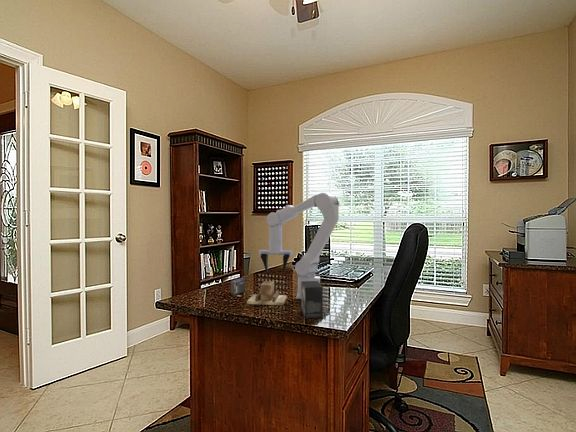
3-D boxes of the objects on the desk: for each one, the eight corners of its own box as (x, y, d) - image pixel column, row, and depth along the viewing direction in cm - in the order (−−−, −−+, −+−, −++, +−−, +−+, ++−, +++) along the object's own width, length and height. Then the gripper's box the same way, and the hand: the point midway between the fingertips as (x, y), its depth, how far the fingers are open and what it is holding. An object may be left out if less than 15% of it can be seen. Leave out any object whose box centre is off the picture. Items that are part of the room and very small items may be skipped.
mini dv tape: (233, 295, 146) (233, 281, 146) (230, 294, 147) (230, 280, 147) (244, 291, 154) (245, 278, 154) (242, 291, 154) (242, 277, 154)
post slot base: (286, 297, 142) (286, 290, 142) (283, 305, 130) (283, 297, 130) (253, 296, 143) (253, 290, 143) (246, 303, 131) (246, 296, 132)
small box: (300, 309, 124) (300, 280, 124) (318, 309, 124) (318, 280, 124) (304, 318, 113) (304, 286, 113) (323, 318, 114) (323, 286, 114)
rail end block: (274, 296, 140) (274, 281, 140) (270, 300, 132) (270, 285, 132) (264, 295, 141) (264, 281, 141) (260, 300, 133) (260, 285, 133)
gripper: (257, 240, 147) (257, 272, 147) (291, 241, 146) (290, 273, 146) (260, 239, 154) (260, 270, 154) (292, 240, 153) (292, 270, 153)
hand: (275, 271), depth 151 cm, fingers open, 7 cm apart
